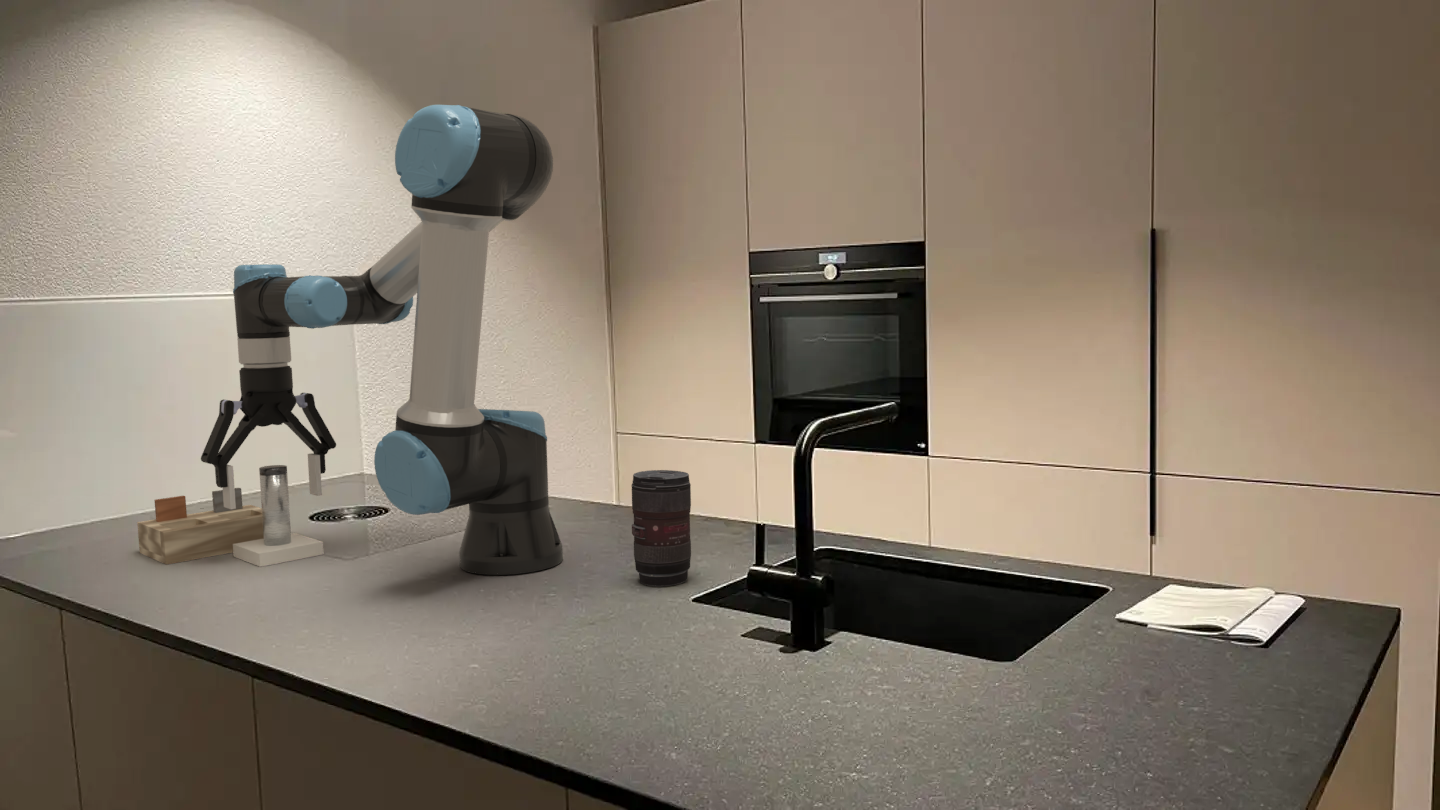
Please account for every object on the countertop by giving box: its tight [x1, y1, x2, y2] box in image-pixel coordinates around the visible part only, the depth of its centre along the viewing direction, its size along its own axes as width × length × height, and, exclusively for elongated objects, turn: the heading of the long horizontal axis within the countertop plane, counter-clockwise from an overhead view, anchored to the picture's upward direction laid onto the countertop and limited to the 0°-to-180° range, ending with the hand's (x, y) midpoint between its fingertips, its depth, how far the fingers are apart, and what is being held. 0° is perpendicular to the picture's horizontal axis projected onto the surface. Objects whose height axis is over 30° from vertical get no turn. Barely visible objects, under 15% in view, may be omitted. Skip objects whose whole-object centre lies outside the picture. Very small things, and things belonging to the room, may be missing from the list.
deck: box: [233, 532, 325, 568], centre depth 176 cm, size 10×10×2 cm
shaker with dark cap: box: [258, 464, 292, 546], centre depth 175 cm, size 4×4×12 cm
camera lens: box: [631, 469, 692, 587], centre depth 154 cm, size 8×8×15 cm
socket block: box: [136, 487, 264, 565], centre depth 182 cm, size 12×18×8 cm, turn 135°
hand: (274, 501), depth 175 cm, fingers open, 13 cm apart
